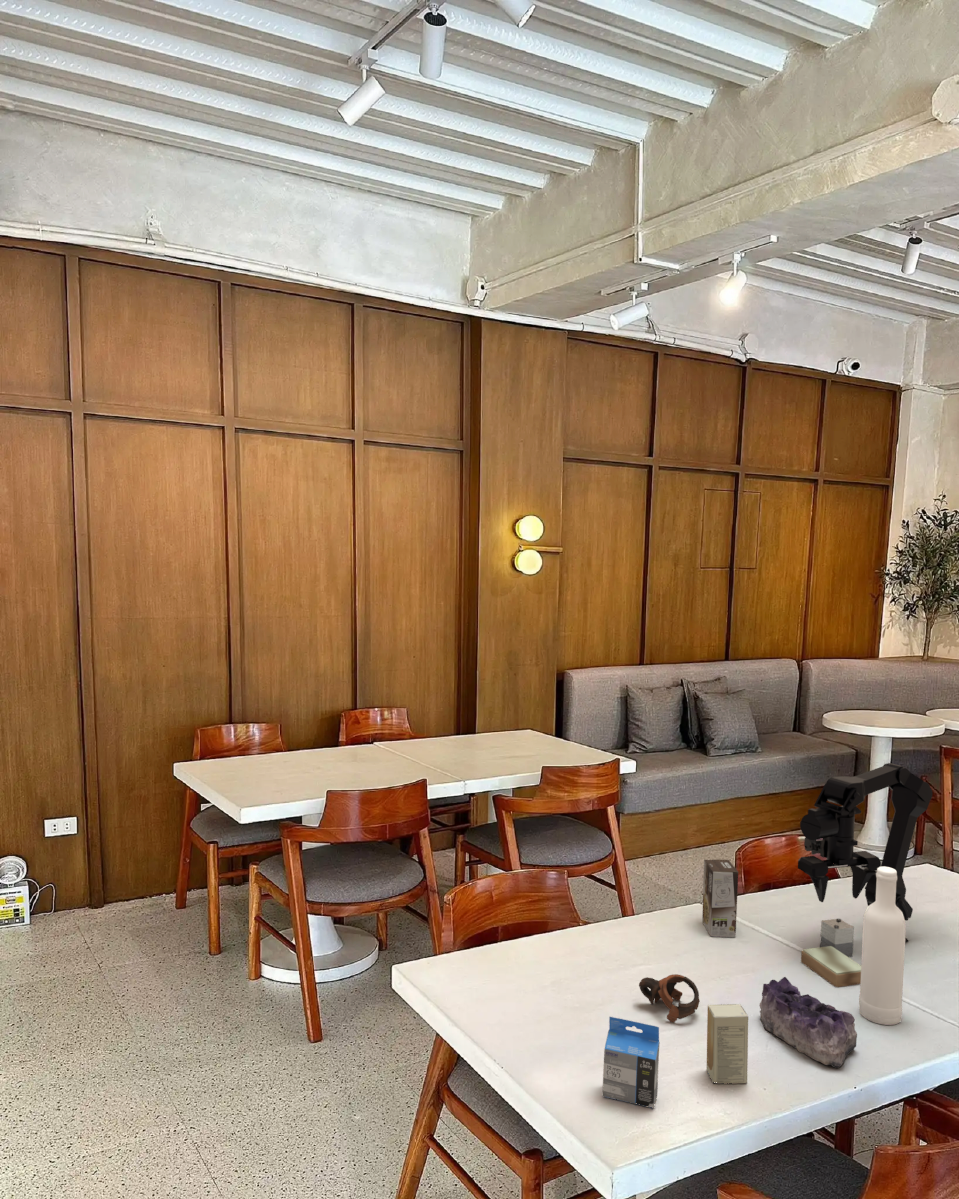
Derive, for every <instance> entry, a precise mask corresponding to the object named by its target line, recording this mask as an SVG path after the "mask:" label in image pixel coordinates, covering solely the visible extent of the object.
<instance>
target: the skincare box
mask: <svg viewBox="0 0 959 1199" xmlns="http://www.w3.org/2000/svg"><path fill="white" fill-rule="evenodd" d="M706 1016H707V1020H706V1023H707V1024H706V1028H707V1029H706V1032H707V1033H706V1072H707V1071H708V1072H707V1074H708V1073H709V1074H708V1076H709V1075H710V1076H709V1078H711V1079H712V1081H713V1082H715V1083H716V1082H717V1083H724V1085H726V1084H727V1083H728V1084H729V1083H732V1084H748V1062H749V1061H748V1054H749V1048H748V1047H749V1015H748V1014H747V1012H746V1010H745V1008H744V1007H743V1005H742V1004H740V1003H739V1004H737V1003H732V1004H729V1003H728V1004H727V1003H726V1004H725V1003H724V1004H722V1003H721V1004H707V1015H706ZM711 1079H710V1080H711ZM712 1081H711V1082H712ZM713 1082H712V1083H713Z"/></svg>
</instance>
